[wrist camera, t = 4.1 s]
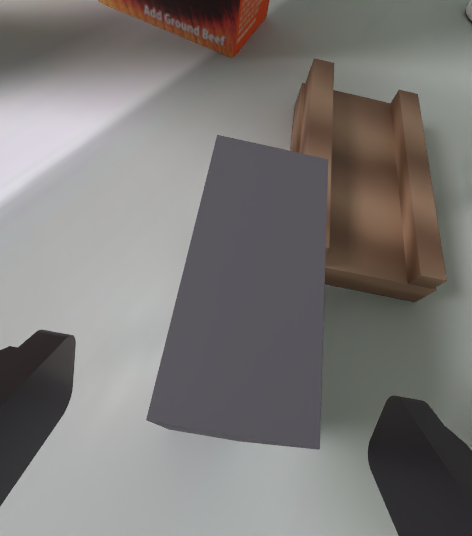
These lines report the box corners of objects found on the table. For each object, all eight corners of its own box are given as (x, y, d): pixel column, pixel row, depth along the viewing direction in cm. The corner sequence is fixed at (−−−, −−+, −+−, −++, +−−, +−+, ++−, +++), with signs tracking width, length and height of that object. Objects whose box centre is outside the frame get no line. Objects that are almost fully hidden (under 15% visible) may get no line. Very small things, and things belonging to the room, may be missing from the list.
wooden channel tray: (415, 301, 21) (461, 275, 18) (277, 274, 21) (296, 241, 17) (397, 128, 29) (427, 85, 25) (294, 105, 28) (310, 57, 25)
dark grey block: (239, 441, 17) (319, 449, 7) (168, 429, 16) (145, 419, 7) (258, 292, 20) (328, 159, 10) (200, 281, 20) (216, 134, 10)
